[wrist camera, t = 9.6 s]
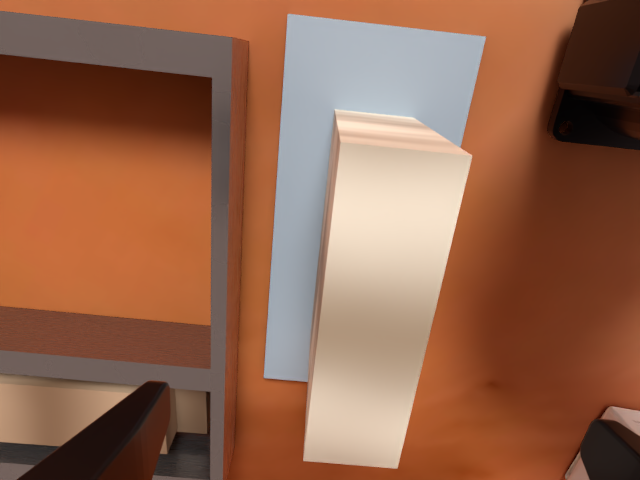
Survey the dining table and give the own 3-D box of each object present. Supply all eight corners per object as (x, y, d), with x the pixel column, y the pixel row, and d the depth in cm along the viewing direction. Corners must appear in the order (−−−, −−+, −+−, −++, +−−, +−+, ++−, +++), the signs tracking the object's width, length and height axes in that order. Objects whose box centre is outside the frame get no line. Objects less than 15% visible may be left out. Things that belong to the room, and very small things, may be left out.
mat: (481, 37, 15) (485, 36, 15) (402, 383, 22) (404, 390, 21) (289, 15, 15) (287, 13, 15) (265, 371, 21) (263, 377, 21)
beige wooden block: (374, 336, 20) (397, 468, 14) (310, 331, 20) (303, 460, 13) (413, 117, 16) (472, 155, 10) (334, 109, 16) (340, 141, 10)
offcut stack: (213, 351, 22) (196, 394, 19) (214, 411, 23) (198, 459, 20) (-8, 334, 21) (-57, 375, 19) (8, 395, 23) (-35, 442, 20)
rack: (248, 41, 16) (232, 37, 13) (234, 446, 24) (222, 498, 21) (-150, -4, 15) (-256, -19, 12) (-28, 424, 23) (-76, 473, 20)
